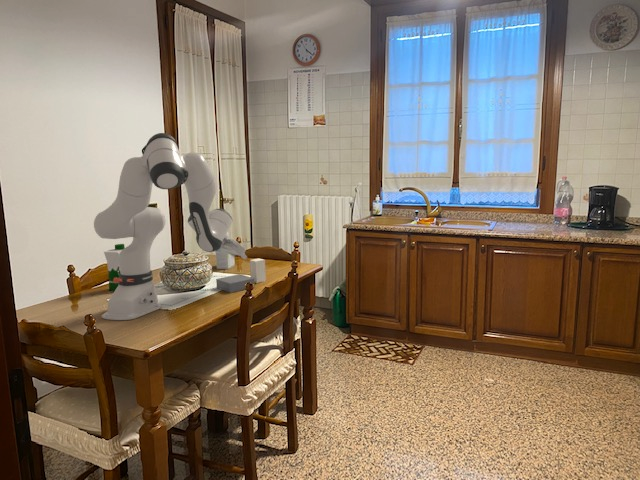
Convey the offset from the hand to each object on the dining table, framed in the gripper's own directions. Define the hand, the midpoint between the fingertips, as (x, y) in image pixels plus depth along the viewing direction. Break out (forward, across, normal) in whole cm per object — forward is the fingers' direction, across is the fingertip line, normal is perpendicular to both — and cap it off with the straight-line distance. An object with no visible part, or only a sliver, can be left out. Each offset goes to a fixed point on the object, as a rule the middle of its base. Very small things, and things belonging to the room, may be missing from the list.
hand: (240, 256), depth 222 cm
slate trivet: (+6, -1, +12) cm, 14 cm away
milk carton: (-20, +36, +39) cm, 56 cm away
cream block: (+16, +1, +3) cm, 16 cm away
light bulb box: (+19, +40, -1) cm, 45 cm away
